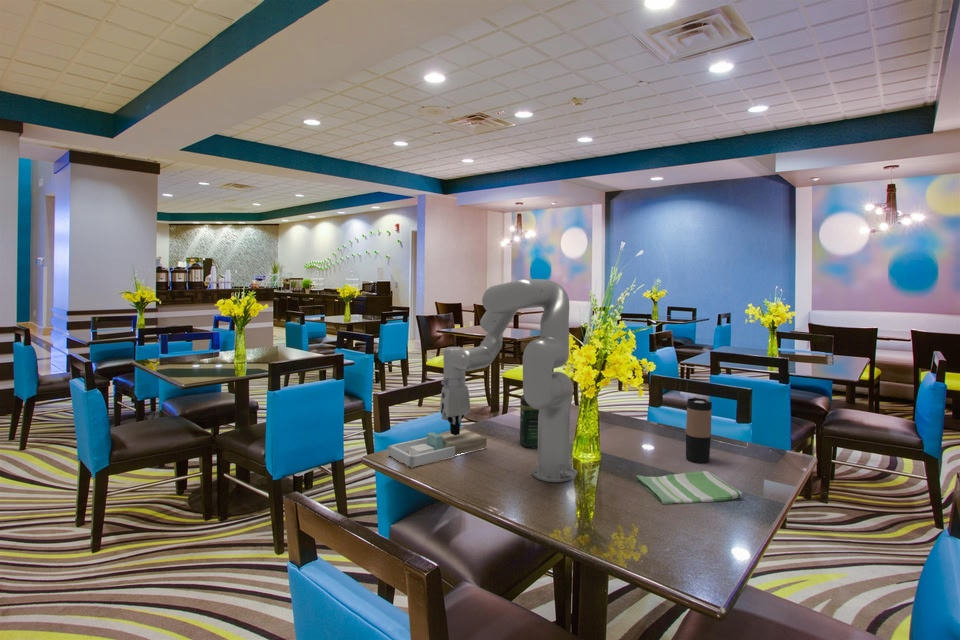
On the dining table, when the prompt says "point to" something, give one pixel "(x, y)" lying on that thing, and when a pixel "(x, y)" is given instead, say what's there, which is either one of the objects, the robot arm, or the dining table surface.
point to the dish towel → (689, 488)
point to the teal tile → (435, 440)
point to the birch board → (464, 441)
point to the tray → (400, 454)
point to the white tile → (420, 449)
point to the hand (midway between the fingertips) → (455, 434)
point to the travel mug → (698, 430)
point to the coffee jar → (528, 424)
